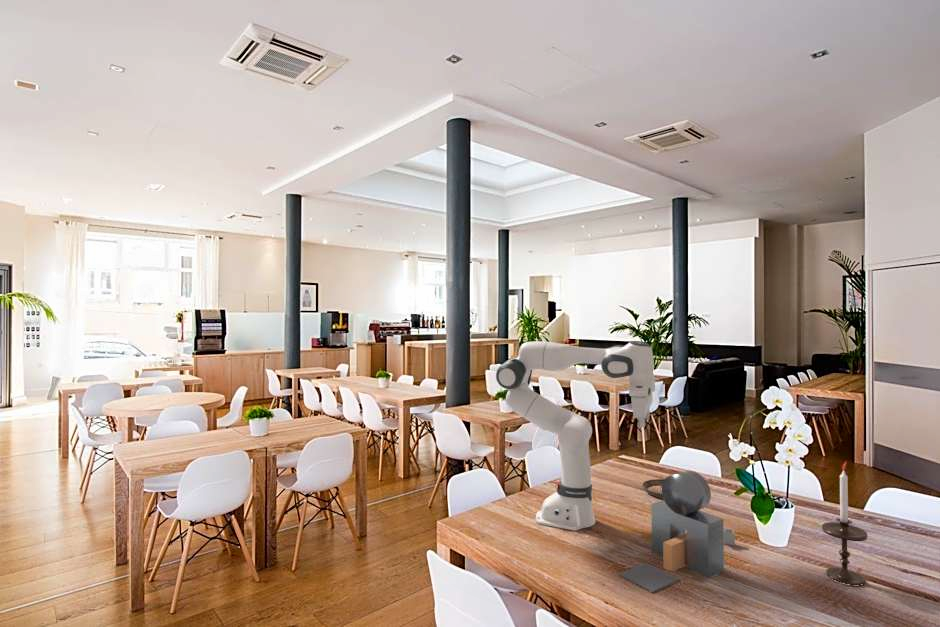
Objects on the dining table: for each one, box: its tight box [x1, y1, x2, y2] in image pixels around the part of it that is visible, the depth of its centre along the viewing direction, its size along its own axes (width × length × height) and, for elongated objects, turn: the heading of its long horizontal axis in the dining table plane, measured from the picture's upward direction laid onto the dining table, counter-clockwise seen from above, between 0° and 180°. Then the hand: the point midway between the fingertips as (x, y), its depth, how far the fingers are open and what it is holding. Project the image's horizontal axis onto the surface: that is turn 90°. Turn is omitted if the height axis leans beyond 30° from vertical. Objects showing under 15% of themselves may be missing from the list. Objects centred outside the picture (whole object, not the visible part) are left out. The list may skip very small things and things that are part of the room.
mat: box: [618, 562, 680, 593], centre depth 152 cm, size 12×12×1 cm
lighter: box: [723, 527, 736, 547], centre depth 175 cm, size 7×2×8 cm, turn 72°
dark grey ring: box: [642, 478, 665, 499], centre depth 225 cm, size 21×21×3 cm
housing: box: [651, 470, 725, 579], centre depth 162 cm, size 8×20×28 cm, turn 33°
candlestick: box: [821, 461, 868, 585], centre depth 151 cm, size 11×11×35 cm
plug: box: [662, 532, 687, 572], centre depth 160 cm, size 12×3×8 cm, turn 123°
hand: (644, 422), depth 186 cm, fingers open, 8 cm apart
